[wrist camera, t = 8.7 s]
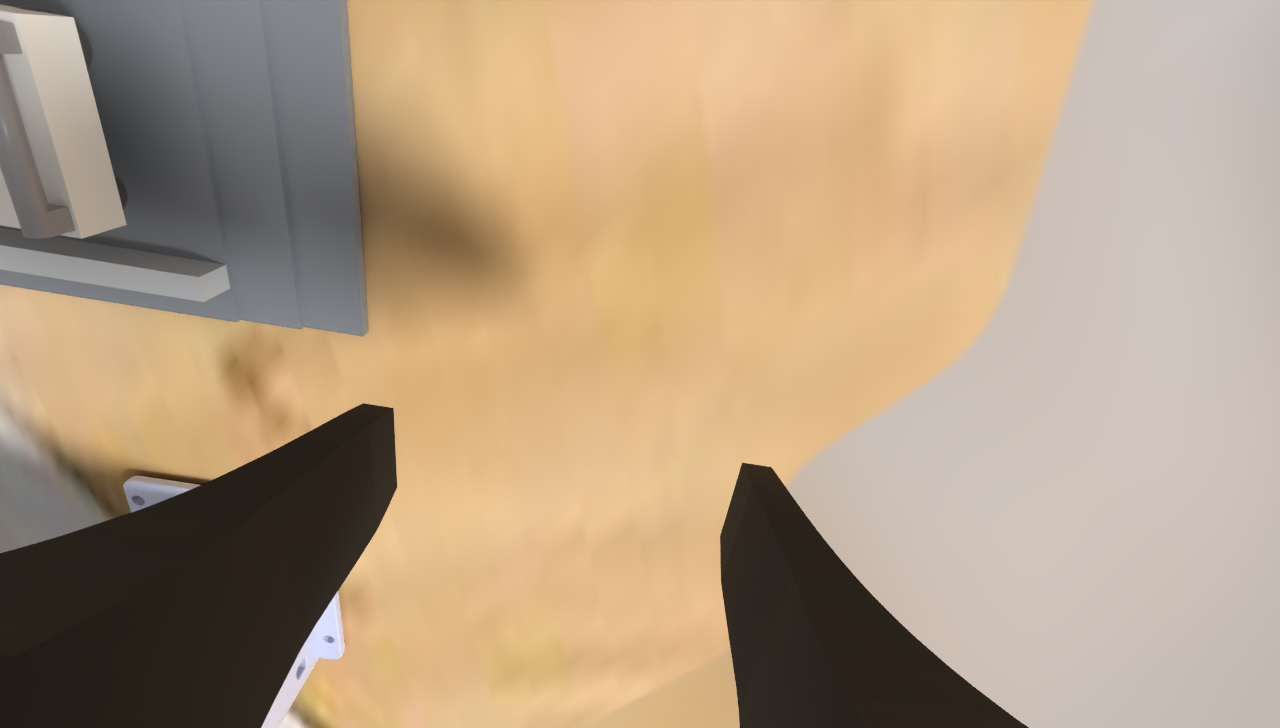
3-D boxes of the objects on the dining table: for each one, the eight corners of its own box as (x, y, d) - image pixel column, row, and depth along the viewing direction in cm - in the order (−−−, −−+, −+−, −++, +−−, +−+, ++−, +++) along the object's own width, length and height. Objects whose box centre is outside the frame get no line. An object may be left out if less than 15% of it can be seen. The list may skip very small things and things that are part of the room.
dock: (368, 331, 20) (332, 363, 18) (-109, 255, 20) (-203, 278, 18) (340, -99, 15) (284, -126, 13) (-326, -222, 14) (-502, -272, 12)
